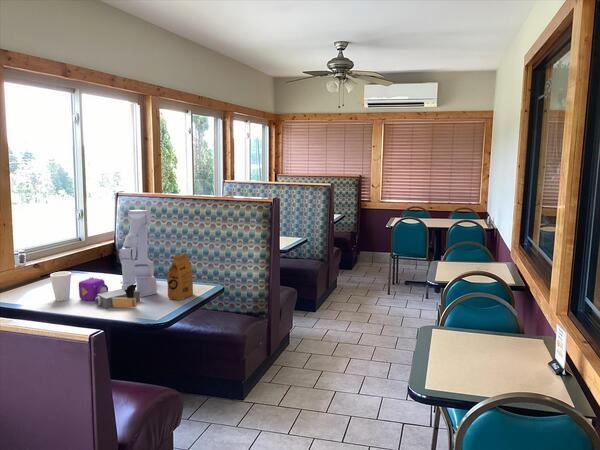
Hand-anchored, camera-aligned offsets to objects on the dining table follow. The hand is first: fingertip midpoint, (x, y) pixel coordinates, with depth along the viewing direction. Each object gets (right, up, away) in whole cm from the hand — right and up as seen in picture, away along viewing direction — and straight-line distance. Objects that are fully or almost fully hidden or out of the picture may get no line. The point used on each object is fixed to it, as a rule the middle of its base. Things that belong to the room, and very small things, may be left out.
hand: (130, 300), depth 242 cm
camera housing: (-8, -2, +8) cm, 12 cm away
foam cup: (-39, -2, +14) cm, 41 cm away
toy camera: (-23, -2, +15) cm, 27 cm away
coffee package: (+20, -1, +17) cm, 26 cm away
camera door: (-3, -3, 0) cm, 4 cm away
